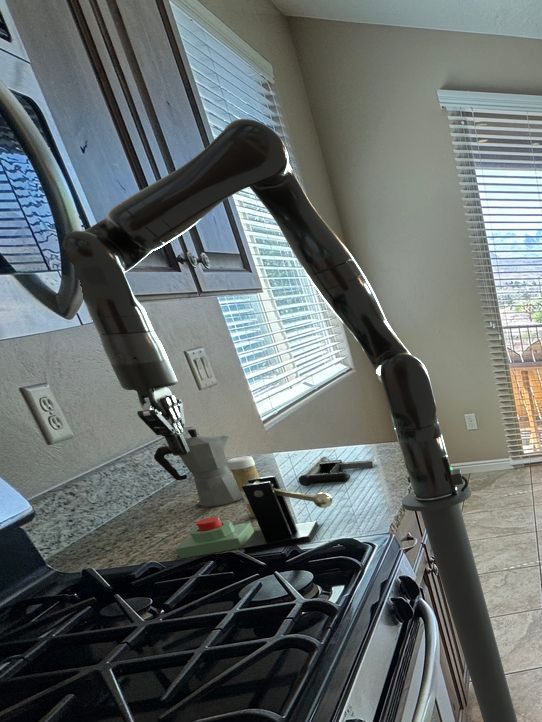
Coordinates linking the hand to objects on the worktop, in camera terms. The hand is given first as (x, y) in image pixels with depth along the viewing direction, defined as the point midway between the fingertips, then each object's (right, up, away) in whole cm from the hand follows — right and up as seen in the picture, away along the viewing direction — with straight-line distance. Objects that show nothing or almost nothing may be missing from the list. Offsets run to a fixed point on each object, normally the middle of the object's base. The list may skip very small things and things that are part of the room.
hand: (182, 454), depth 107 cm
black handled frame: (-3, +2, +49) cm, 49 cm away
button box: (0, -17, +8) cm, 19 cm away
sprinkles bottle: (-3, -11, +23) cm, 26 cm away
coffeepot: (-22, -7, +33) cm, 40 cm away
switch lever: (+16, -9, +7) cm, 19 cm away
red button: (0, -14, +7) cm, 16 cm away
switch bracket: (+12, -16, +9) cm, 22 cm away
